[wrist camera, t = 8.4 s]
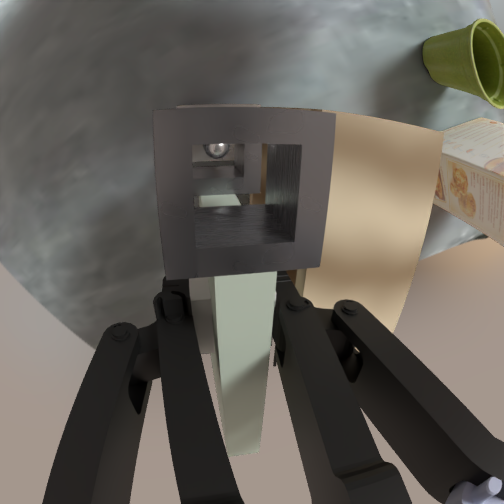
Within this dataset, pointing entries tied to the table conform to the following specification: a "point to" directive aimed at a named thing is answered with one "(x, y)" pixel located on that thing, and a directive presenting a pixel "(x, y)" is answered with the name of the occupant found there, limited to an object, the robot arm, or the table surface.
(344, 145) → the cabinet
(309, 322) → the robot arm
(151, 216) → the table surface
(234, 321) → the square frame paddle
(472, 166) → the coffeecake box
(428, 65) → the plant pot
